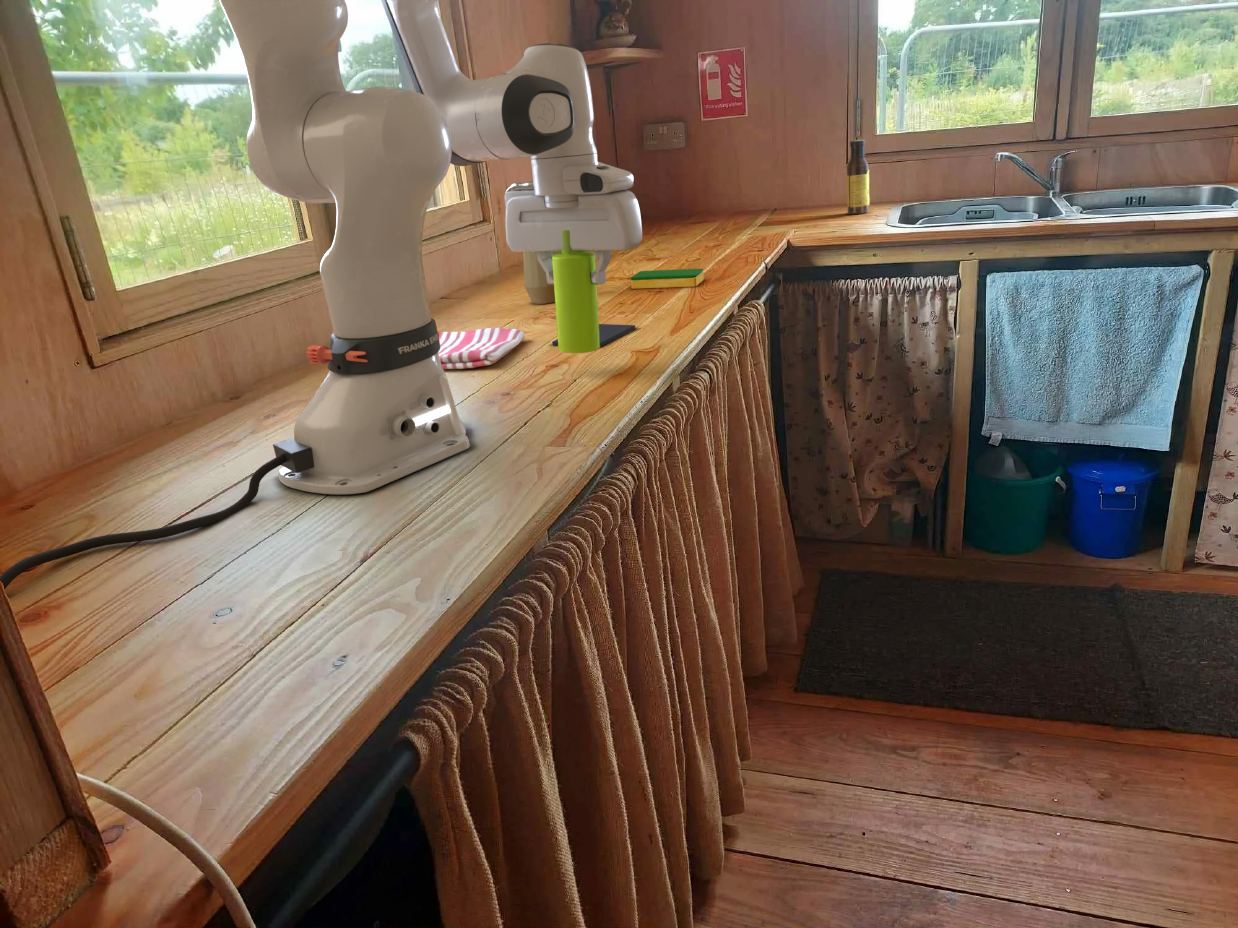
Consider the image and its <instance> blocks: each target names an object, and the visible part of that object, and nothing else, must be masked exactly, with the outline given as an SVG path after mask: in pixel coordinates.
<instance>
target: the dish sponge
mask: <svg viewBox="0 0 1238 928" xmlns="http://www.w3.org/2000/svg"><path fill="white" fill-rule="evenodd" d="M704 277H705V275H704V269H703V268H682V269H681V268H680V269H679V268H678V269H677V268H676V269H657V270H656V269H655V270H640V271H638V272H636V273H635V274H634V275H632V276H631V277H630V287H631V289H632V290H640V289H641V290H643V289H666V288H667V289H668V288H671V289H672V288H695V287H697V286H698V285H700V283H702V282H703V281H704V280H705V278H704Z"/></svg>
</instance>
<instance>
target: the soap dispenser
mask: <svg viewBox="0 0 1238 928" xmlns="http://www.w3.org/2000/svg"><path fill="white" fill-rule="evenodd" d="M562 240H563V248H562V251H560V252H558V253H557V254H555V255H553V256H552V262H553V276H554V291H555V302H554V303H555V318H556V319H555V320H556V331H557V339H558V345H557V346H558V347H557V349H558V351H559V352H562V353H567V354H587V353H591V352H596V351H598V350H599V349H600V348H601V347H600V342H599V324H600V323H599V307H598V306H599V304H598V285H594V284H591V281H590V280H591V277H590V272H592V271H594V270H595V269H596V266H597V264H596V259H595V253H594V252H593V251H574V250H572V248H571V246H570V231H569V230H562Z"/></svg>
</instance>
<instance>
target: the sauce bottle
mask: <svg viewBox="0 0 1238 928" xmlns="http://www.w3.org/2000/svg"><path fill="white" fill-rule="evenodd" d="M865 146H866V140H865V139H858V140H850V143H849V147H850V159H849V161H848V163H847V164H846V165H847V166H846V206H847V214H848V215H858V214H859V215H860V214H865V213H868V212H869V211H870V203H871V202H870V199H871V198H870V166H869V165H870V164H869V163H868V160H867V159H866V158H865V156H866V154H865V151H866V150H865Z"/></svg>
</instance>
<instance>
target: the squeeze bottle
mask: <svg viewBox="0 0 1238 928" xmlns="http://www.w3.org/2000/svg"><path fill="white" fill-rule="evenodd" d="M557 253H559V251H553V255H555V254H557ZM522 255H523V256H522V261H523V285H524V288H525V290H526V293H527V295H528V297H529V299H530V301H531V303H532V304H536V305H537V304H538V305H546V304H552V303H555V291H554V284H548V283H547V279H546V272H545V271H544V269H543V268H542V266H541V265H540V263H539V262H538V260H537V253H536V251H532V252H522ZM551 260H552V257H551Z"/></svg>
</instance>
